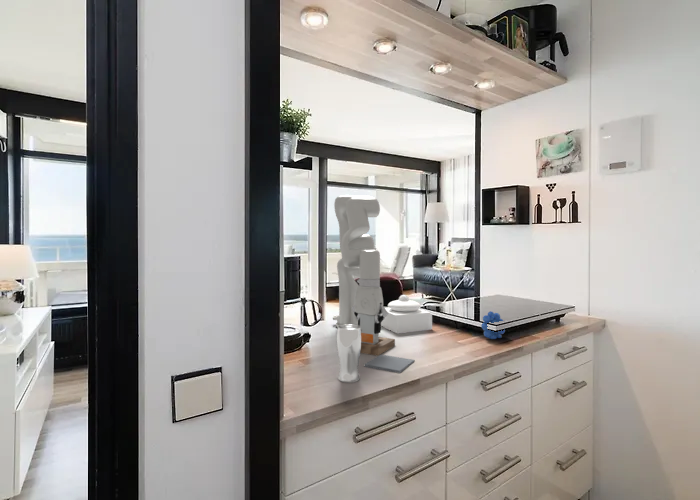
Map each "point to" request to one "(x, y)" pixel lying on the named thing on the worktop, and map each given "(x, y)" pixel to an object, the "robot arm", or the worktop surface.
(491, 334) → the grapes
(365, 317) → the skincare box
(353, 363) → the beer glass
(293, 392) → the worktop surface
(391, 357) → the slate mat
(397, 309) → the butter dish
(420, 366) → the worktop surface
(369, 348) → the walnut collar
